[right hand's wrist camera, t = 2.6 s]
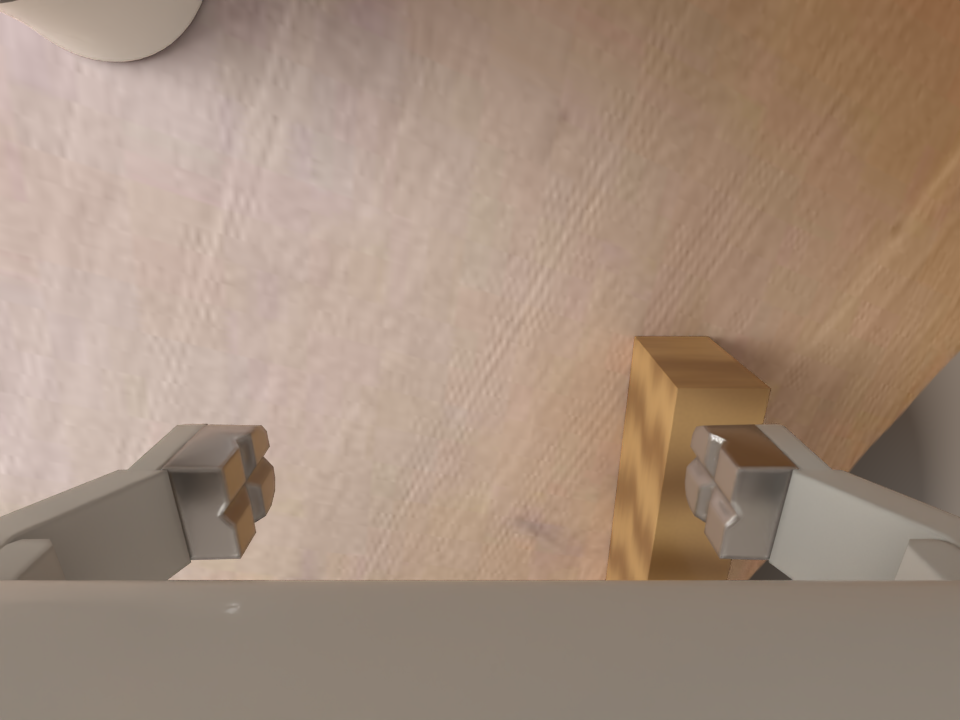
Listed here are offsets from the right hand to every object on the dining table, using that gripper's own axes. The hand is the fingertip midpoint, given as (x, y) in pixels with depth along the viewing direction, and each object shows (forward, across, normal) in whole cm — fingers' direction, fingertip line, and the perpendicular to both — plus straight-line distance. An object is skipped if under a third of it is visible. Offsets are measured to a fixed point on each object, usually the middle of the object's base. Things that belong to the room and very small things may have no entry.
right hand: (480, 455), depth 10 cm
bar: (+29, -15, +20) cm, 39 cm away
